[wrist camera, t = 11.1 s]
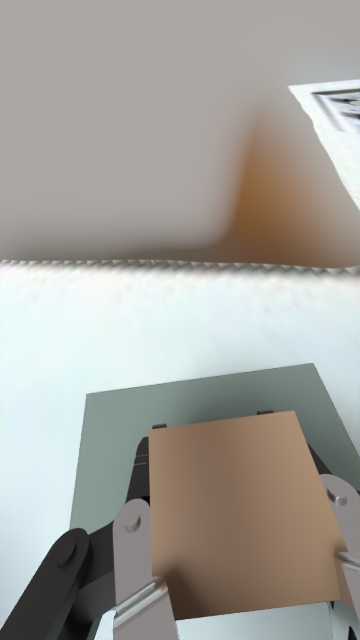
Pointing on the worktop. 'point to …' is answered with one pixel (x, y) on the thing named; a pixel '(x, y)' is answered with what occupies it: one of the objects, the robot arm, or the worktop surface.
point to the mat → (190, 408)
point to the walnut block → (240, 517)
